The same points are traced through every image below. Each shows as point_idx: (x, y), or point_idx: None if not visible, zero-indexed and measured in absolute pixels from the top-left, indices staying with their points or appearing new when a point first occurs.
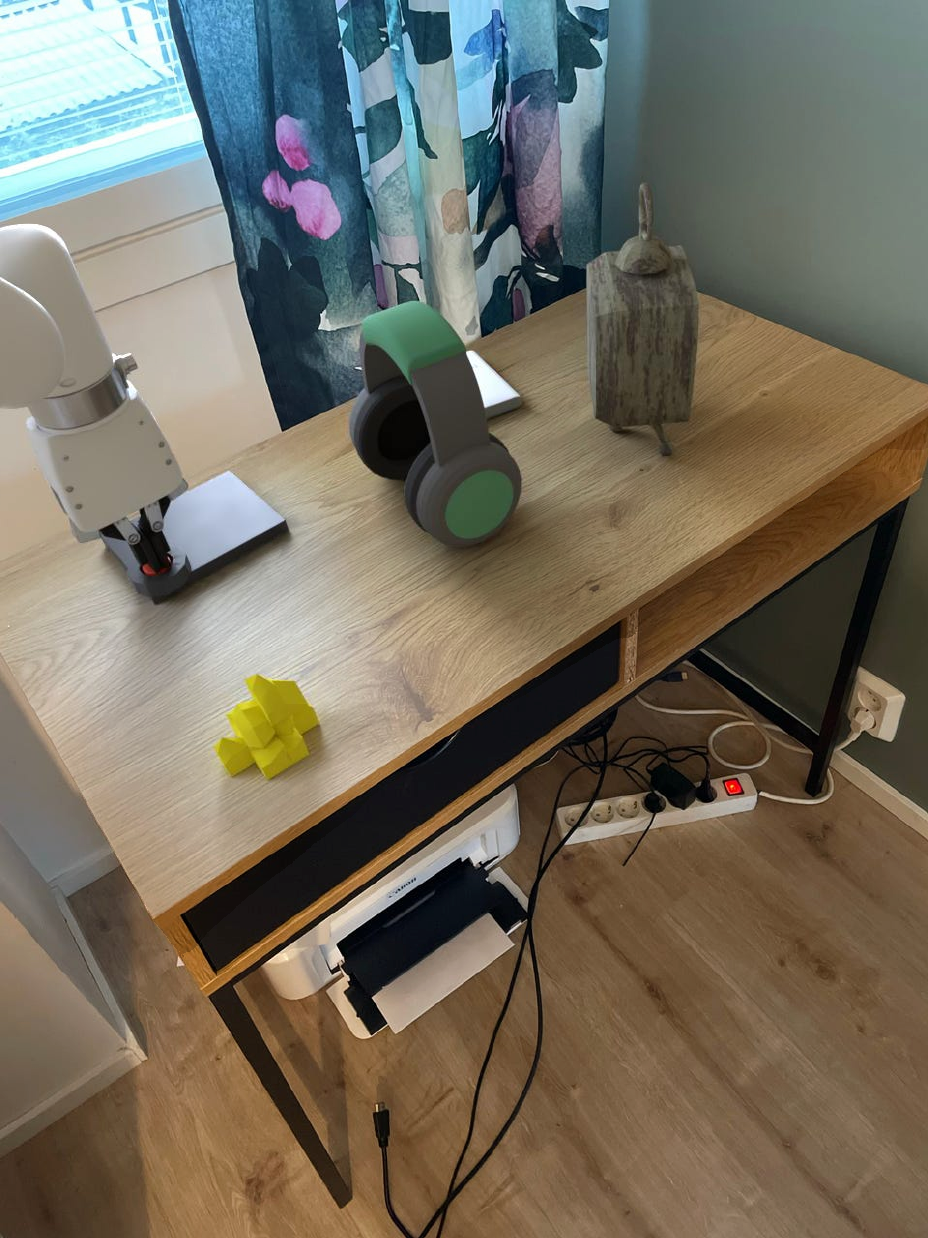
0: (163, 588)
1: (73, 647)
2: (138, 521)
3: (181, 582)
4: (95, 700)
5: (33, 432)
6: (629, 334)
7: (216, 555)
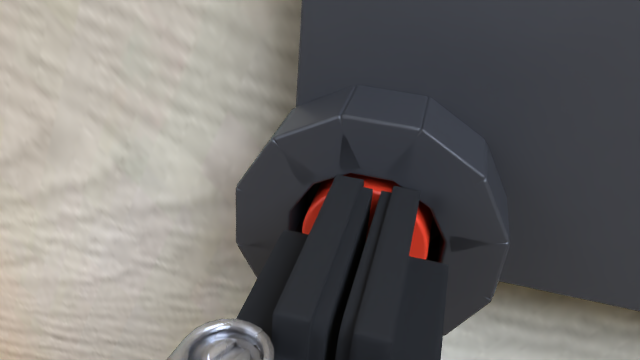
0: None
1: (35, 138)
2: (354, 341)
3: None
4: (51, 320)
5: None
6: None
7: (602, 294)
